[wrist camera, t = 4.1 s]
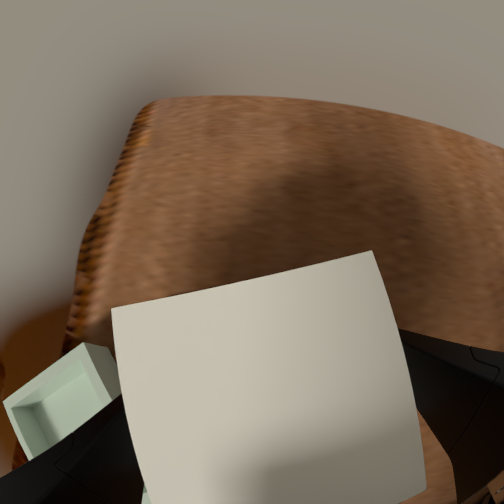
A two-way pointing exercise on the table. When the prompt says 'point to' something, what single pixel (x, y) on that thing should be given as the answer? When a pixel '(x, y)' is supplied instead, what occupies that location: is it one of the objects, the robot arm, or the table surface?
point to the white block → (272, 391)
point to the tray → (64, 399)
